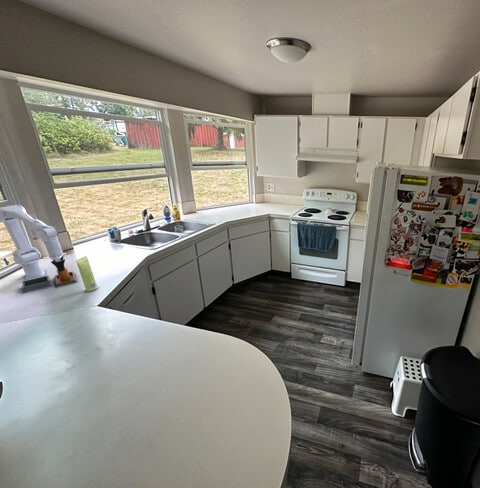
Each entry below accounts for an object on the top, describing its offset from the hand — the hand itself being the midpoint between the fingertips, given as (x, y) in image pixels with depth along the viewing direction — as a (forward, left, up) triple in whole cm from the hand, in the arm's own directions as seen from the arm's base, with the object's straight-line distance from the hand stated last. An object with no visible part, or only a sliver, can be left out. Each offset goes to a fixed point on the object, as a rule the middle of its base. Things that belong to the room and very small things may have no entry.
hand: (61, 268), depth 149 cm
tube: (+24, +10, -8) cm, 27 cm away
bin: (-1, -11, -8) cm, 14 cm away
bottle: (0, 0, -7) cm, 7 cm away
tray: (0, 0, -8) cm, 8 cm away
